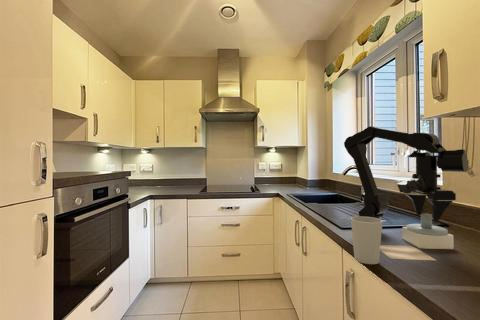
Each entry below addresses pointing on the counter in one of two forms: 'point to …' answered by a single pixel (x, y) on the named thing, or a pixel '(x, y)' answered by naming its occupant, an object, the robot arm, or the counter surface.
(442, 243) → the dish
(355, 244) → the cup
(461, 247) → the counter surface
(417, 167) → the robot arm
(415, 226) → the lid
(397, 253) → the mat
